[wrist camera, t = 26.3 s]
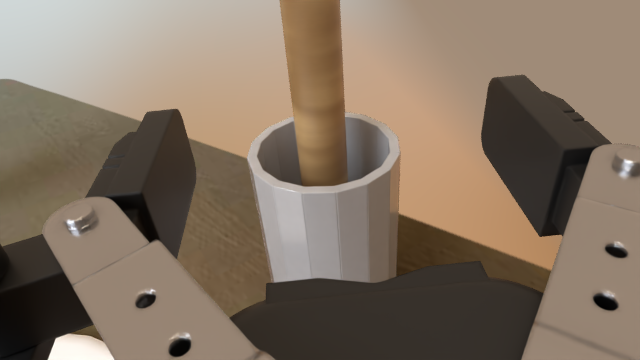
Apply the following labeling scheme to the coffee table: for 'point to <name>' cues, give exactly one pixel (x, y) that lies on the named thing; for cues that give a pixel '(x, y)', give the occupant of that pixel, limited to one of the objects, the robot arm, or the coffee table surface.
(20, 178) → the coffee table surface
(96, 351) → the plate
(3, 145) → the coffee table surface
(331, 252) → the grey faceted cup
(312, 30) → the light brown wooden rod
